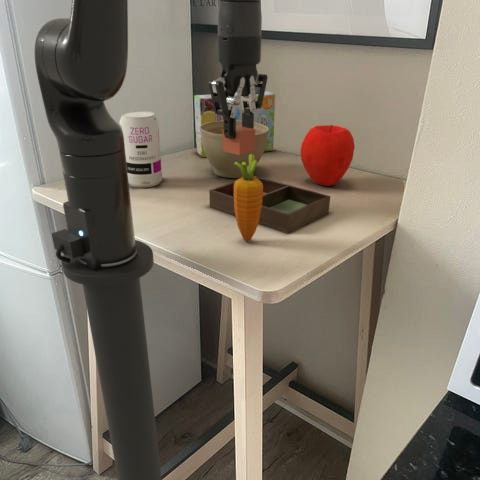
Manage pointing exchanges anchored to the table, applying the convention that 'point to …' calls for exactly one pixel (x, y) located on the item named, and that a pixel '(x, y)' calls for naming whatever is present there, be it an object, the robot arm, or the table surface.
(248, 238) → the carrot
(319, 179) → the apple
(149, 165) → the supplement can
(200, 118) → the snack box
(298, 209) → the sorting tray
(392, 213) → the table surface
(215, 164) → the planter bowl
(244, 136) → the terracotta block
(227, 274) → the table surface
